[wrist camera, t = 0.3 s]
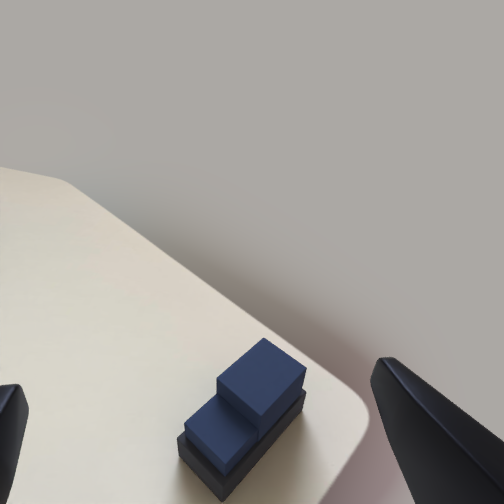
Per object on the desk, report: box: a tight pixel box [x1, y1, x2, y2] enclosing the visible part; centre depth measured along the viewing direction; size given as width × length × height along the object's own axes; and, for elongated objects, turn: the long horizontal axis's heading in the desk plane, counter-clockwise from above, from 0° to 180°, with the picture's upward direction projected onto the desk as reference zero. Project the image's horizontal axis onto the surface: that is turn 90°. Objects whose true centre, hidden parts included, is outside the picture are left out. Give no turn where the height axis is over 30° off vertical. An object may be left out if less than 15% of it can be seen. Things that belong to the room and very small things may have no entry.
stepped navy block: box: [177, 338, 307, 502], centre depth 26 cm, size 9×4×6 cm, turn 139°
